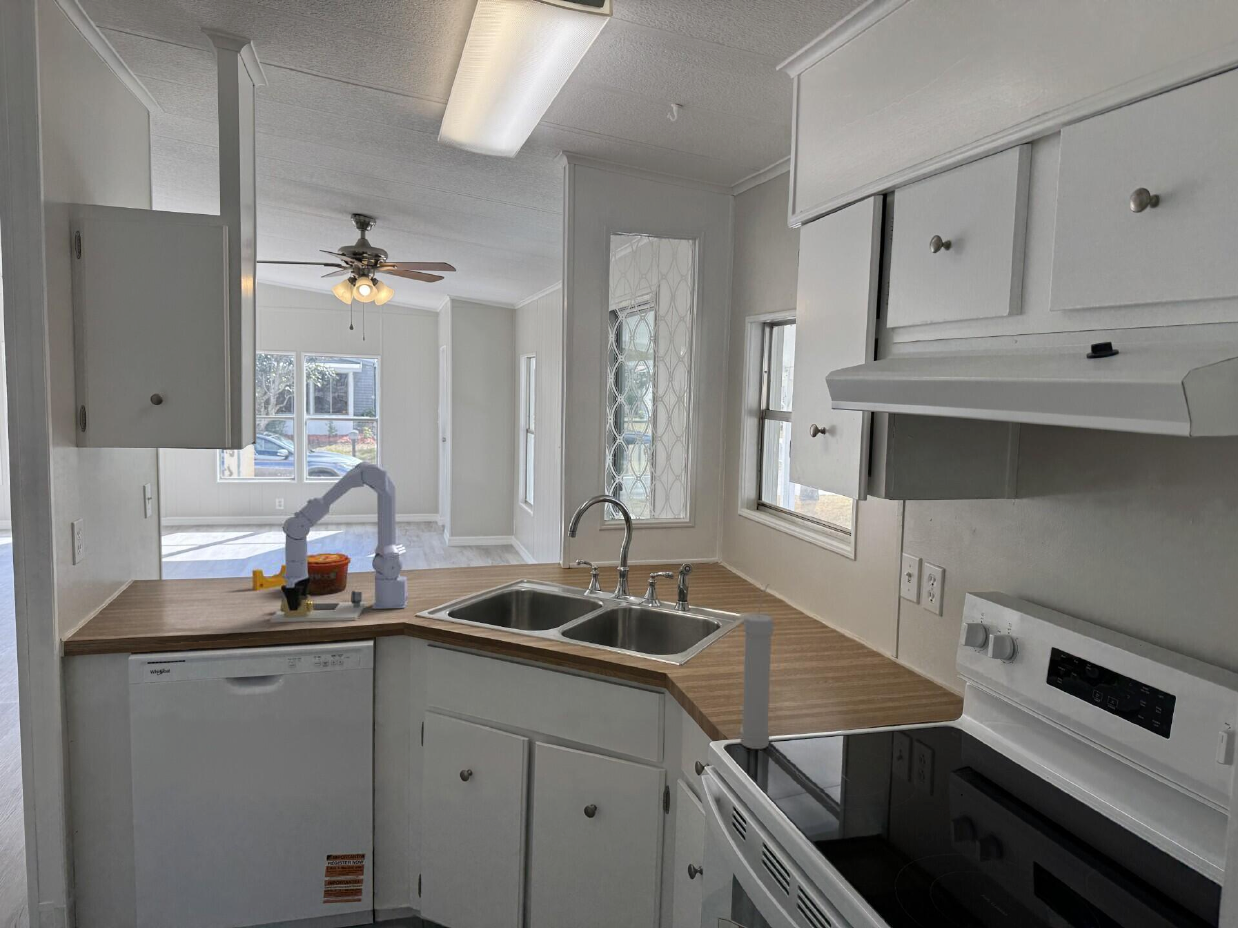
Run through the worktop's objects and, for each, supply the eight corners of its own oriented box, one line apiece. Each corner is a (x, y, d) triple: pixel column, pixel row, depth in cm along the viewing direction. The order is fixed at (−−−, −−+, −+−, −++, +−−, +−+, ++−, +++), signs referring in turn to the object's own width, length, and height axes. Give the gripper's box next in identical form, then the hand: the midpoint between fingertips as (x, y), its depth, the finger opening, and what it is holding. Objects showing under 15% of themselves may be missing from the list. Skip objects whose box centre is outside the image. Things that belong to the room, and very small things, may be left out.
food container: (295, 586, 260) (295, 554, 259) (346, 582, 267) (346, 551, 266) (301, 598, 246) (300, 564, 245) (354, 592, 253) (354, 560, 252)
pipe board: (366, 605, 239) (365, 586, 239) (355, 620, 223) (355, 600, 223) (286, 606, 236) (286, 587, 236) (270, 622, 220) (270, 602, 220)
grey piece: (734, 744, 148) (739, 587, 145) (750, 733, 153) (755, 581, 150) (760, 752, 144) (766, 592, 142) (776, 741, 149) (781, 586, 147)
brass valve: (315, 612, 227) (314, 595, 226) (311, 616, 222) (310, 599, 222) (284, 613, 226) (284, 596, 225) (280, 617, 221) (279, 600, 221)
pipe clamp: (284, 582, 267) (284, 563, 266) (291, 584, 264) (291, 565, 264) (250, 588, 257) (249, 569, 257) (257, 590, 255) (256, 571, 254)
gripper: (288, 554, 229) (289, 600, 230) (273, 565, 215) (274, 613, 216) (314, 554, 230) (314, 599, 231) (301, 564, 216) (301, 613, 217)
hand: (297, 606), depth 224 cm, fingers open, 7 cm apart
